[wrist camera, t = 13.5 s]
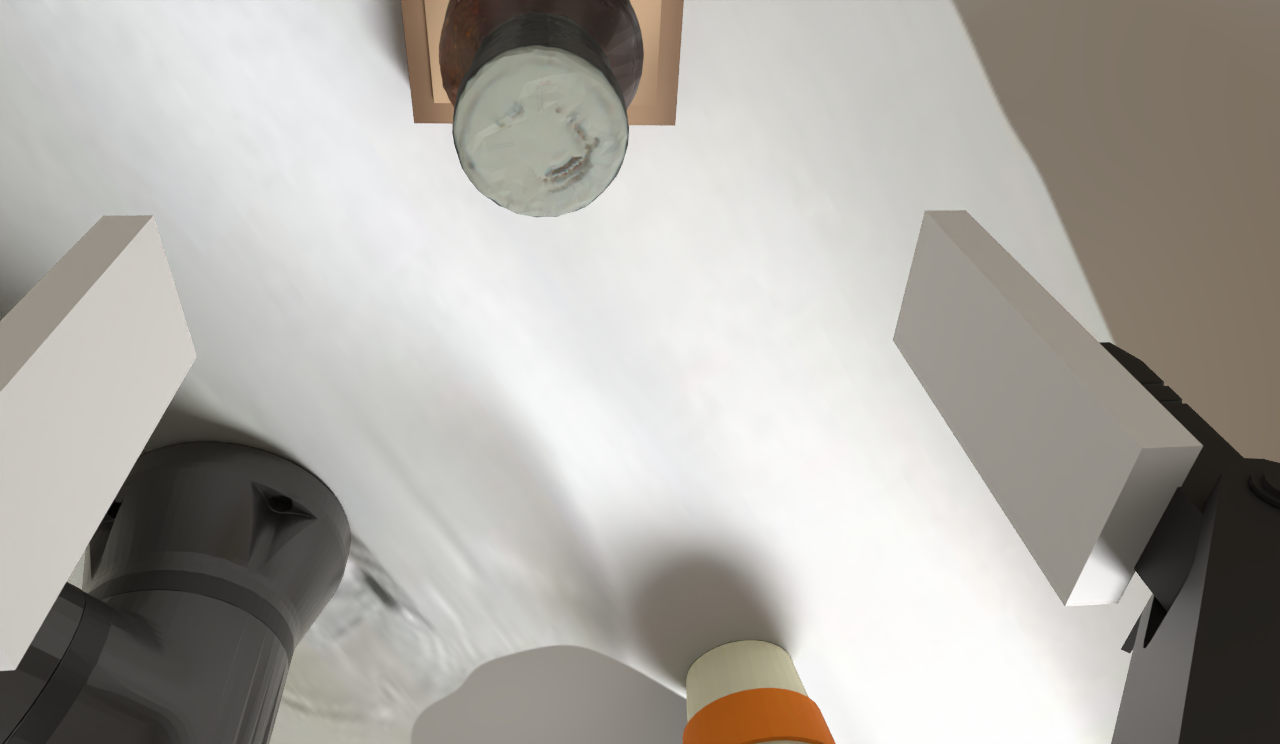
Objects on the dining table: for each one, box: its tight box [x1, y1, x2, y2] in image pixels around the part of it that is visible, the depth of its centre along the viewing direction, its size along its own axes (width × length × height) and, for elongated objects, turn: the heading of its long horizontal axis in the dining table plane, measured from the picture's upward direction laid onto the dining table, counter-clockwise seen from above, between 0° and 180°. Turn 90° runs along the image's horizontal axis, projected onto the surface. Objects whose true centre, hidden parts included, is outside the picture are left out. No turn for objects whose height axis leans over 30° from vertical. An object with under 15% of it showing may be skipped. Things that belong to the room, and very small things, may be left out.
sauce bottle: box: [439, 0, 644, 217], centre depth 28 cm, size 6×6×20 cm
